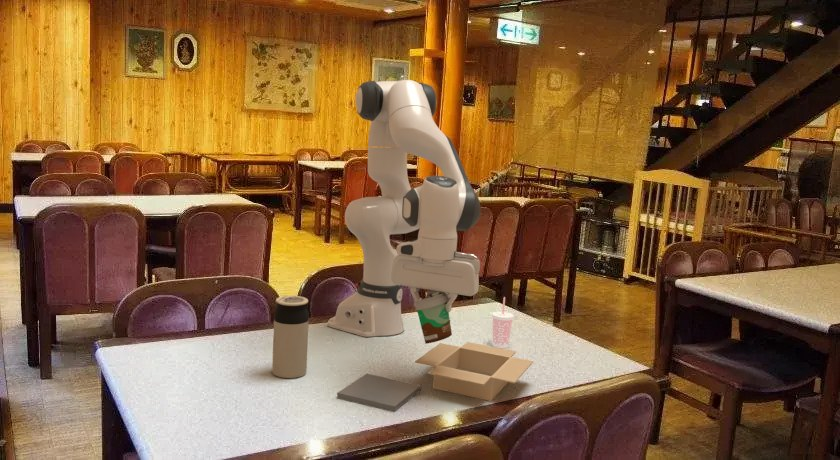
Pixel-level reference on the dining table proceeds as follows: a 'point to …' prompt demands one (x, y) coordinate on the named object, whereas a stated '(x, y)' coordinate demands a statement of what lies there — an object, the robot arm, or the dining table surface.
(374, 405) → the slate board
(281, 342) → the travel mug
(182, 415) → the dining table surface
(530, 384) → the dining table surface
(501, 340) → the beverage cup
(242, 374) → the dining table surface
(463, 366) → the carton
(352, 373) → the dining table surface
